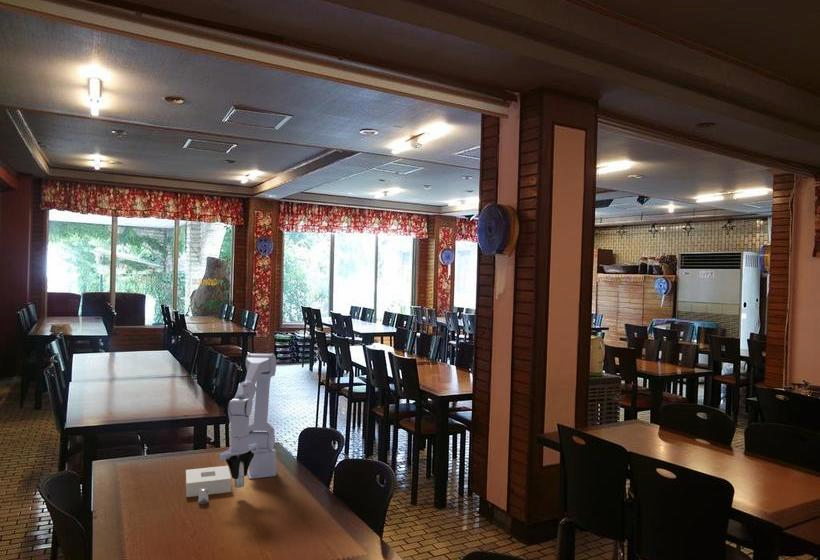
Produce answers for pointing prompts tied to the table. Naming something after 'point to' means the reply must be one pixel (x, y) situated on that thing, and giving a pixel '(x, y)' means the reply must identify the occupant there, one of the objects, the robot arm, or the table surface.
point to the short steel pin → (203, 495)
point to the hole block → (208, 480)
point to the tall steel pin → (240, 476)
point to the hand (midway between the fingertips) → (239, 476)
